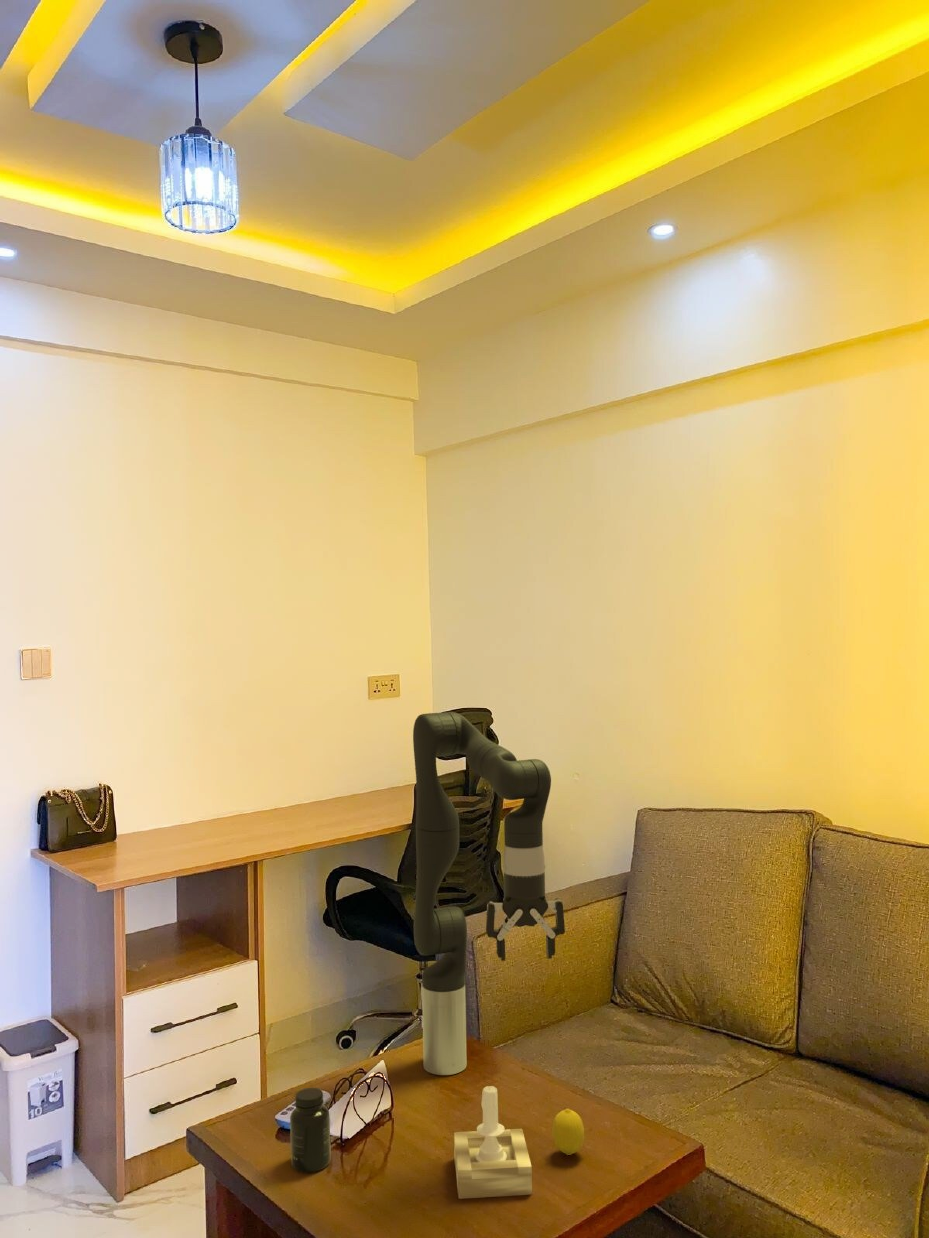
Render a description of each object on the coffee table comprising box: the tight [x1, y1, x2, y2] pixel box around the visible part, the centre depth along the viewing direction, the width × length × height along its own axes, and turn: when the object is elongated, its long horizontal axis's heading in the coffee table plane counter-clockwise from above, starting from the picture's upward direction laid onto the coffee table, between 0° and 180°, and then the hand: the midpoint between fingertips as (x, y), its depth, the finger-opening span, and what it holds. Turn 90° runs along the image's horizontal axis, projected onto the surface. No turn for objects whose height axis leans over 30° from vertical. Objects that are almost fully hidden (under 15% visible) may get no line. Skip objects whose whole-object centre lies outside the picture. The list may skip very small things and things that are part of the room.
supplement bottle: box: [289, 1087, 332, 1174], centre depth 164 cm, size 7×7×12 cm
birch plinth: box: [453, 1128, 533, 1200], centre depth 159 cm, size 12×12×4 cm
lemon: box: [552, 1108, 585, 1156], centre depth 165 cm, size 6×6×8 cm
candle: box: [475, 1085, 507, 1162], centre depth 160 cm, size 5×5×12 cm
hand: (525, 958), depth 173 cm, fingers open, 8 cm apart
